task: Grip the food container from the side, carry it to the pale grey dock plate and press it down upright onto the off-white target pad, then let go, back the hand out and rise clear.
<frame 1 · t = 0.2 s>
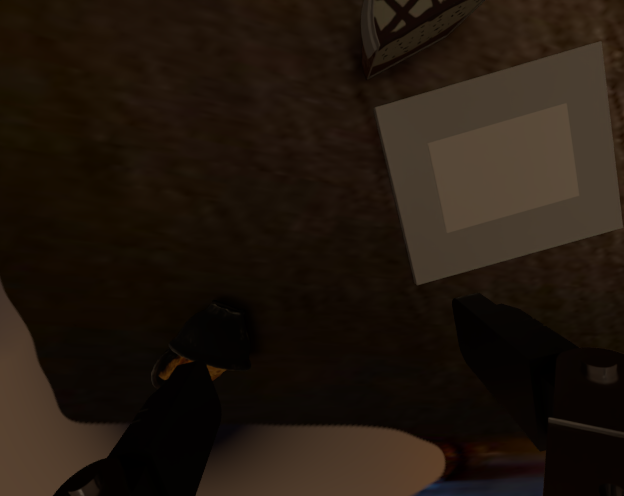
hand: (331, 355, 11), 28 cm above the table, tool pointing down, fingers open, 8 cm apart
fried shrimp in bowl: (201, 357, 41), on the table
food container: (393, 30, 35), on the table
dock: (498, 170, 38), on the table
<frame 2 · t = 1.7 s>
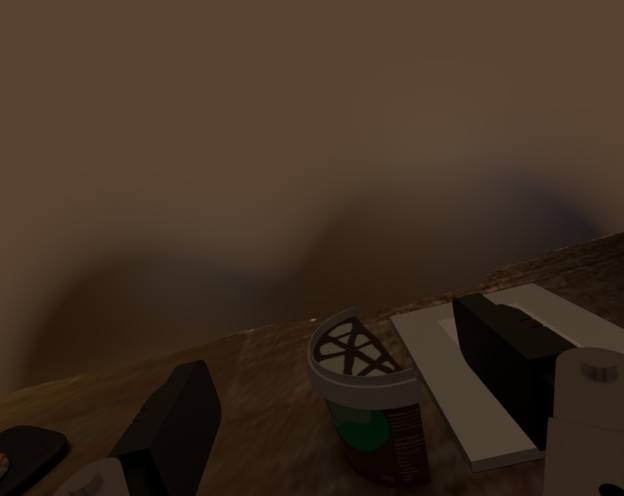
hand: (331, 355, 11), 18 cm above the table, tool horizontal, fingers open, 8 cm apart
food container: (368, 451, 28), on the table
dock: (512, 352, 35), on the table
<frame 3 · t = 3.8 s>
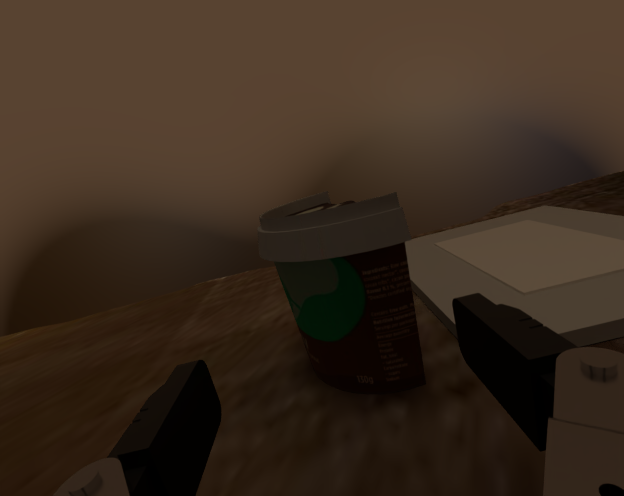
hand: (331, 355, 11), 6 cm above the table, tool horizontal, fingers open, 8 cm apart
food container: (343, 362, 21), on the table
dock: (528, 260, 28), on the table
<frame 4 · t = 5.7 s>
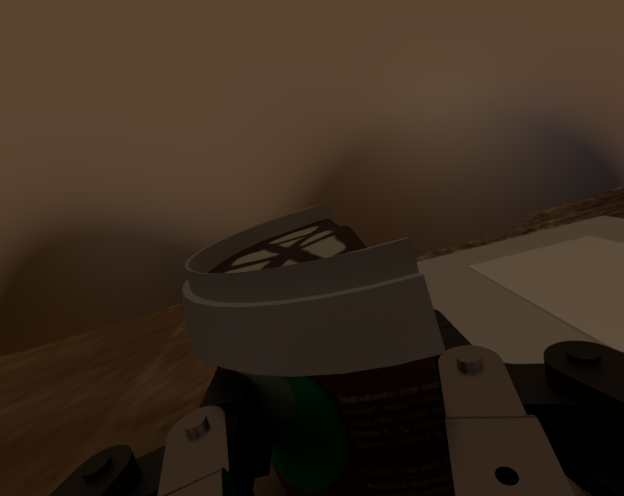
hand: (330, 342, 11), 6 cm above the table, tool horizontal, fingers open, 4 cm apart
food container: (338, 477, 14), on the table, touching gripper
dock: (611, 297, 20), on the table
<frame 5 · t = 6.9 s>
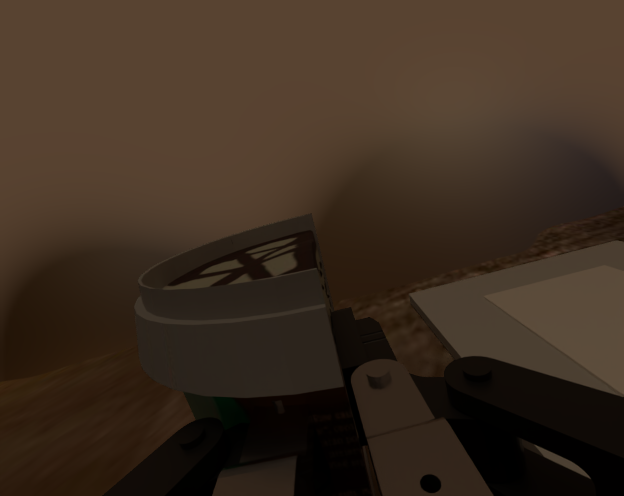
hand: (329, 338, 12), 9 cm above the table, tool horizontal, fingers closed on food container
food container: (296, 490, 14), point 3 cm above the table, touching gripper
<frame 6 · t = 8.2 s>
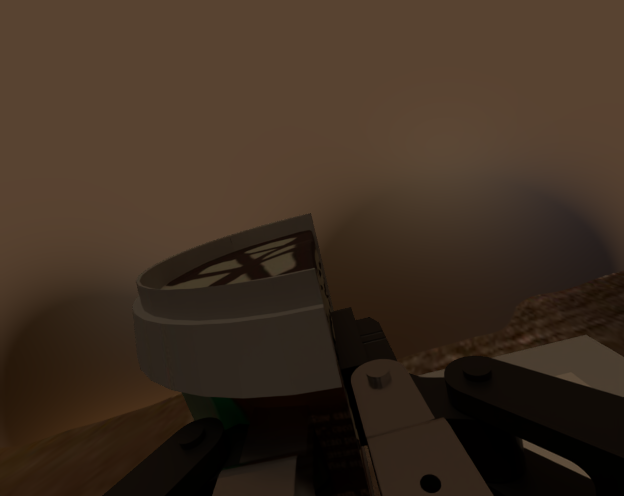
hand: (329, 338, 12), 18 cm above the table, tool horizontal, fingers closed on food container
food container: (295, 490, 14), point 11 cm above the table, touching gripper
dock: (585, 473, 22), on the table
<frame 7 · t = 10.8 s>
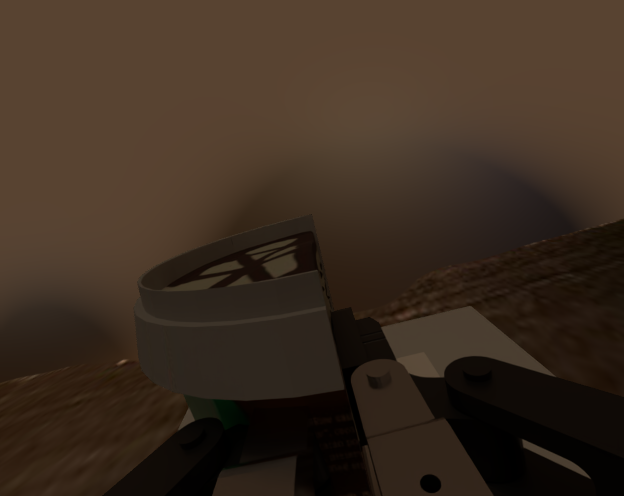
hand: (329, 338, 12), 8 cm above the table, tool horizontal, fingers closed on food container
food container: (296, 492, 14), point 1 cm above the table, touching dock, gripper
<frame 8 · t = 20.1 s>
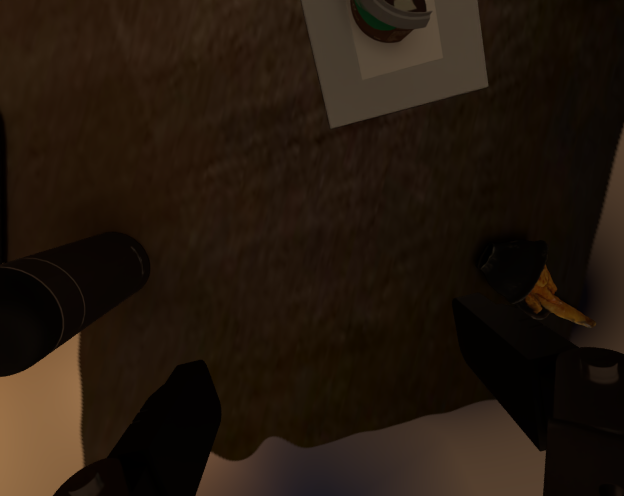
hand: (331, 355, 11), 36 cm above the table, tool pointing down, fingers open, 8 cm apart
fried shrimp in bowl: (521, 279, 49), on the table
food container: (366, 6, 40), point 1 cm above the table, touching dock
dock: (387, 5, 40), on the table
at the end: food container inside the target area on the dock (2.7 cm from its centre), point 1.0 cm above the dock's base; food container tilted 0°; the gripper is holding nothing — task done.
